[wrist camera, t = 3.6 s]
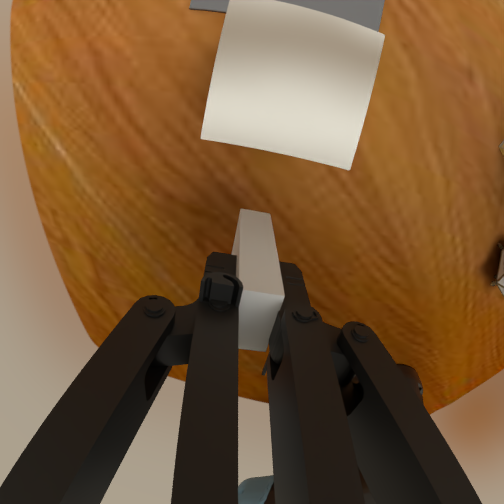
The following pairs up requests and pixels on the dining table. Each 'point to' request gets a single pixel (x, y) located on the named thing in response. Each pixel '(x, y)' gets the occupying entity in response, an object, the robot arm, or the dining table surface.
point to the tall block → (291, 81)
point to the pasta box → (502, 147)
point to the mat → (319, 9)
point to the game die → (500, 272)
